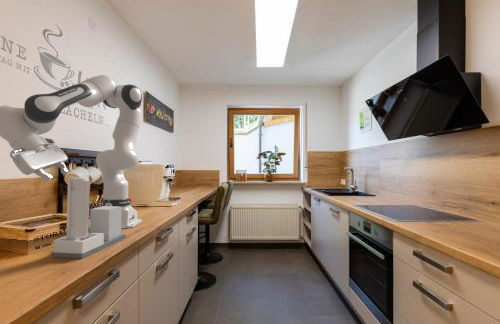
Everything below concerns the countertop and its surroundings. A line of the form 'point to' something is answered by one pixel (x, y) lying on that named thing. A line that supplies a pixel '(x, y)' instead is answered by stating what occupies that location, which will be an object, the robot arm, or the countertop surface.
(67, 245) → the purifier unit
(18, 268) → the countertop surface
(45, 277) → the countertop surface
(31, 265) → the countertop surface
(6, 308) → the countertop surface
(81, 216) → the white upright block
